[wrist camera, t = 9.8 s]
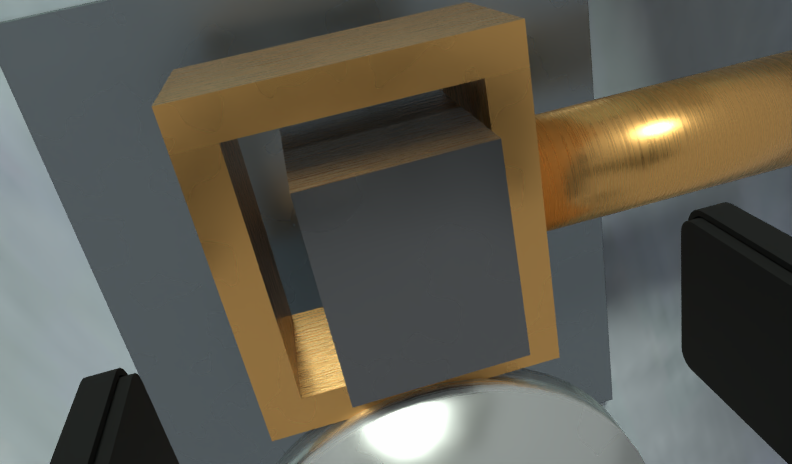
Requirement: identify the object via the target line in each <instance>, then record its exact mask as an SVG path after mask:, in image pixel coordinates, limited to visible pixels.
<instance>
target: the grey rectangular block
mask: <svg viewBox="0 0 792 464" xmlns="http://www.w3.org/2000/svg"><path fill="white" fill-rule="evenodd" d="M279 129H280V135H281V141H282V147H283V154H284V160H285V166H286V172H287V178H288V185H289V191H290V195H291V199H292V202H293V206H294V209H295V213H296V216H297V219H298V223H299V226H300V230H301V233H302V236H303V240H304V243H305V247H306V250H307V254H308V257H309V260H310V264H311V267H312V271H313V274H314V278H315V281H316V284H317V288H318V291H319V295H320V298H321V302H322V305H323V308H324V312H325V315H326V319H327V322H328V325H329V329H330V332H331V336H332V339H333V343H334V346H335V349H336V353H337V356H338V360H339V363H340V367H341V370H342V373H343V377H344V380H345V384H346V387H347V391H348V394H349V397H350V401H351V404H352V408H353V407H357V406H360V405H364V404H367V403H370V402H374V401H377V400H380V399H384V398H387V397H391V396H394V395H397V394H401V393H404V392H407V391H411V390H414V389H417V388H421V387H424V386H428V385H431V384H434V383H438V382H441V381H444V380H448V379H451V378H454V377H458V376H461V375H465V374H468V373H471V372H475V371H478V370H481V369H485V368H488V367H492V366H495V365H498V364H502V363H505V362H508V361H512V360H515V359H518V358H522V357H525V356H529V355H530V348H529V340H528V333H527V326H526V318H525V311H524V303H523V296H522V289H521V281H520V274H519V266H518V259H517V252H516V244H515V237H514V229H513V222H512V215H511V207H510V200H509V192H508V185H507V178H506V170H505V163H504V156H503V148H502V141H501V138H500V137H499V136H498V135H496V134H495V133H494V132H493V131H491V130H490V129H489V128H487V127H486V126H485V125H484V124H482V123H481V122H480V121H479V120H477V119H476V118H475V117H474V116H472V115H471V114H470V113H468V112H467V111H466V110H465V109H463V108H462V107H461V106H460V105H458V104H457V103H456V102H455V101H453V100H452V99H451V98H449V97H448V96H447V95H446V94H444V93H443V92H442V91H441V90H439V89H438V90H434V91H430V92H426V93H422V94H418V95H414V96H410V97H406V98H402V99H397V100H393V101H389V102H385V103H381V104H377V105H373V106H369V107H365V108H360V109H356V110H352V111H348V112H344V113H340V114H336V115H332V116H328V117H324V118H319V119H315V120H311V121H307V122H303V123H299V124H295V125H291V126H287V127H282V128H279Z"/></svg>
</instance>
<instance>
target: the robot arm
mask: <svg viewBox="0 0 792 464" xmlns="http://www.w3.org/2000/svg"><path fill="white" fill-rule="evenodd" d="M681 300H682V353H683V356H684V359H685V361H686V363H687V364H688V366H689V367H690V368H691V370H692V371H693V372H694V373H695V374H696V375H697V376H699V377H700V378H701V379H702V380H703V381H704V382H705V383H706V384H707V385H708V386H709V387H710V388H711V389H712V390H713V391H714V392H715V393H716V394H717V395H718V396H719V397H720V398H721V399H722V400H723V401H724V402H725V403H726V404H727V405H728V406H729V407H730V408H731V409H732V410H733V411H735V412H736V413H737V414H738V415H739V416H740V417H741V418H742V419H743V420H744V421H745V422H746V423H747V424H748V425H749V426H750V427H751V428H752V429H753V430H754V431H755V432H756V433H757V434H758V435H759V436H760V437H761V438H762V439H763V440H764V441H765V442H766V443H767V444H768V445H769V446H771V447H772V448H773V449H774V450H775V451H776V452H777V453H778V454H779V455H780V456H781V457H782V458H783V459H784V460H785V461H786V462H787V463H788V464H792V237H791V236H789V235H787V234H785V233H784V232H782V231H780V230H778V229H776V228H774V227H773V226H771V225H769V224H767V223H765V222H763V221H762V220H760V219H758V218H756V217H754V216H753V215H751V214H749V213H747V212H745V211H743V210H742V209H740V208H738V207H736V206H734V205H732V204H730V203H727V202H725V203H720V204H717V205H713V206H709V207H706V208H702V209H698V210H695V211H693V212H692V213H691V214H690V216H689V219H688V221H686V222H685V223H683V225H682V229H681ZM50 464H179V462H178V460H177V457H176V455H175V453H174V451H173V448H172V446H171V444H170V442H169V440H168V437H167V435H166V433H165V431H164V428H163V426H162V424H161V422H160V419H159V417H158V415H157V413H156V411H155V408H154V406H153V404H152V402H151V399H150V397H149V395H148V393H147V391H146V388H145V386H144V384H143V382H142V380H141V378H140V376H139V375H138V374H136V373H134V374H131V375H128V374H127V373H126V372H125V371H124V369H121V368H118V369H114V370H111V371H107V372H104V373H100V374H96V375H93V376H89V377H86V378H83V379H82V381H81V383H80V385H79V388H78V391H77V393H76V396H75V398H74V401H73V404H72V406H71V409H70V412H69V414H68V417H67V420H66V422H65V425H64V427H63V430H62V433H61V435H60V438H59V441H58V443H57V446H56V449H55V451H54V454H53V456H52V459H51V462H50Z"/></svg>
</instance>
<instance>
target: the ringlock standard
mask: <svg viewBox="0 0 792 464" xmlns="http://www.w3.org/2000/svg"><path fill="white" fill-rule="evenodd" d="M0 66H1V69H2V71H3V73H4V75H5V77H6V80H7V82H8V84H9V86H10V89H11V91H12V93H13V95H14V97H15V100H16V102H17V104H18V106H19V109H20V111H21V113H22V115H23V118H24V120H25V122H26V124H27V126H28V129H29V131H30V133H31V135H32V138H33V140H34V142H35V144H36V146H37V149H38V151H39V153H40V155H41V158H42V160H43V162H44V164H45V166H46V169H47V171H48V173H49V175H50V178H51V180H52V182H53V184H54V187H55V189H56V191H57V193H58V195H59V198H60V200H61V202H62V204H63V207H64V209H65V211H66V213H67V215H68V218H69V220H70V222H71V224H72V227H73V229H74V231H75V233H76V236H77V238H78V240H79V242H80V244H81V247H82V249H83V251H84V253H85V256H86V258H87V260H88V262H89V264H90V267H91V269H92V271H93V273H94V276H95V278H96V280H97V282H98V285H99V287H100V289H101V291H102V293H103V296H104V298H105V300H106V302H107V305H108V307H109V309H110V311H111V313H112V316H113V318H114V320H115V322H116V325H117V327H118V329H119V331H120V333H121V336H122V338H123V340H124V342H125V345H126V347H127V349H128V351H129V354H130V356H131V358H132V360H133V362H134V365H135V367H136V369H137V371H138V374H139V376H140V378H141V380H142V382H143V384H144V386H145V388H146V391H147V393H148V395H149V397H150V399H151V402H152V404H153V406H154V408H155V411H156V413H157V415H158V417H159V419H160V422H161V424H162V426H163V428H164V431H165V433H166V435H167V437H168V440H169V442H170V444H171V446H172V448H173V451H174V453H175V455H176V457H177V460H178V462H179V464H645V463H644V461H643V459H642V458H641V456H640V454H639V452H638V450H637V449H636V448H635V447H634V445H633V444H632V443H631V441H630V440H629V439H628V437H627V436H626V435H625V433H624V432H623V431H622V429H621V428H620V427H619V425H618V424H617V423H616V422H615V420H614V419H613V418H612V417H611V415H610V414H609V413H608V412H607V411H606V409H605V408H604V407H603V406H602V405H600V404H599V403H602V402H605V401H609V400H612V384H611V368H610V352H609V335H608V319H607V303H606V287H605V271H604V255H603V239H602V222H601V217H602V216H606V215H610V214H613V213H617V212H621V211H624V210H628V209H632V208H636V207H639V206H643V205H647V204H650V203H654V202H658V201H661V200H665V199H669V198H672V197H676V196H680V195H684V194H687V193H691V192H695V191H698V190H702V189H706V188H709V187H713V186H717V185H720V184H724V183H728V182H732V181H735V180H739V179H743V178H746V177H750V176H754V175H757V174H761V173H765V172H768V171H772V170H776V169H780V168H783V167H787V166H791V165H792V50H790V51H786V52H782V53H778V54H774V55H770V56H766V57H762V58H758V59H754V60H750V61H746V62H742V63H739V64H735V65H731V66H727V67H723V68H719V69H715V70H711V71H707V72H703V73H699V74H695V75H691V76H687V77H683V78H679V79H675V80H671V81H667V82H663V83H659V84H655V85H651V86H647V87H643V88H639V89H635V90H631V91H627V92H623V93H619V94H615V95H611V96H607V97H603V98H599V99H595V100H594V93H593V77H592V61H591V45H590V29H589V13H588V0H100V1H96V2H91V3H87V4H82V5H77V6H73V7H68V8H64V9H59V10H54V11H50V12H45V13H41V14H36V15H31V16H27V17H22V18H18V19H13V20H9V21H4V22H0ZM438 89H439V90H441V91H442V92H443V93H444V94H446V95H447V96H448V97H449V98H451V99H452V100H453V101H455V102H456V103H457V104H458V105H460V106H461V107H462V108H463V109H465V110H466V111H467V112H468V113H470V114H471V115H472V116H474V117H475V118H476V119H477V120H479V121H480V122H481V123H482V124H484V125H485V126H486V127H487V128H489V129H490V130H491V131H493V132H494V133H495V134H496V135H498V136H499V137H500V138H501V141H502V148H503V156H504V163H505V170H506V178H507V185H508V192H509V200H510V207H511V215H512V222H513V229H514V237H515V244H516V252H517V259H518V266H519V274H520V281H521V289H522V296H523V303H524V311H525V318H526V326H527V333H528V340H529V348H530V355H529V356H525V357H522V358H518V359H515V360H512V361H508V362H505V363H502V364H498V365H495V366H492V367H488V368H485V369H481V370H478V371H475V372H471V373H468V374H465V375H461V376H458V377H454V378H451V379H448V380H444V381H441V382H438V383H434V384H431V385H428V386H424V387H421V388H417V389H414V390H411V391H407V392H404V393H401V394H397V395H394V396H391V397H387V398H384V399H380V400H377V401H374V402H370V403H367V404H364V405H360V406H357V407H353V408H352V404H351V401H350V397H349V394H348V391H347V387H346V384H345V380H344V377H343V373H342V370H341V367H340V363H339V360H338V356H337V353H336V349H335V346H334V343H333V339H332V336H331V332H330V329H329V325H328V322H327V319H326V315H325V312H324V308H323V305H322V302H321V298H320V295H319V291H318V288H317V284H316V281H315V278H314V274H313V271H312V267H311V264H310V260H309V257H308V254H307V250H306V247H305V243H304V240H303V236H302V233H301V230H300V226H299V223H298V219H297V216H296V213H295V209H294V206H293V202H292V199H291V195H290V191H289V185H288V178H287V172H286V166H285V160H284V154H283V147H282V141H281V135H280V129H279V128H282V127H287V126H291V125H295V124H299V123H303V122H307V121H311V120H315V119H319V118H324V117H328V116H332V115H336V114H340V113H344V112H348V111H352V110H356V109H360V108H365V107H369V106H373V105H377V104H381V103H385V102H389V101H393V100H397V99H402V98H406V97H410V96H414V95H418V94H422V93H426V92H430V91H434V90H438Z"/></svg>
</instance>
